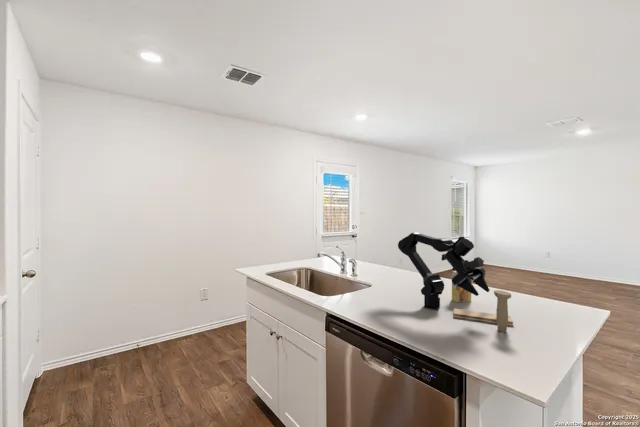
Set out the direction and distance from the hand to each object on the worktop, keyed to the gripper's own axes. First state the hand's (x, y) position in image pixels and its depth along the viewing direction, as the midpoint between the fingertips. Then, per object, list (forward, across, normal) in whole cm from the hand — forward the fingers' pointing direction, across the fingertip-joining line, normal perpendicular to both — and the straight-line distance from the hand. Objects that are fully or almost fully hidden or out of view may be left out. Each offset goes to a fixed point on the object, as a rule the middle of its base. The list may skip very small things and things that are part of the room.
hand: (483, 293), depth 120 cm
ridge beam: (+6, +7, +12) cm, 15 cm away
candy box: (-6, +23, +25) cm, 34 cm away
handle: (+14, 0, +4) cm, 15 cm away
